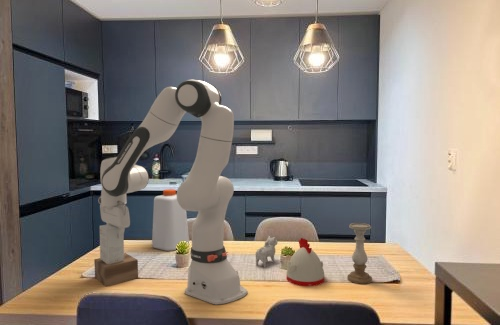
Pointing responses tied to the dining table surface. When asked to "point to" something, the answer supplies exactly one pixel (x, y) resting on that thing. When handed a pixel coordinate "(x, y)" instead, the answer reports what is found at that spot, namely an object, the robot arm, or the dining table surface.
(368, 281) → the candle holder
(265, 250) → the dog figurine
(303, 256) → the kitchen timer
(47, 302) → the dining table surface
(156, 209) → the plastic bottle
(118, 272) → the walnut block
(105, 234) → the small box
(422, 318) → the dining table surface
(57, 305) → the dining table surface
